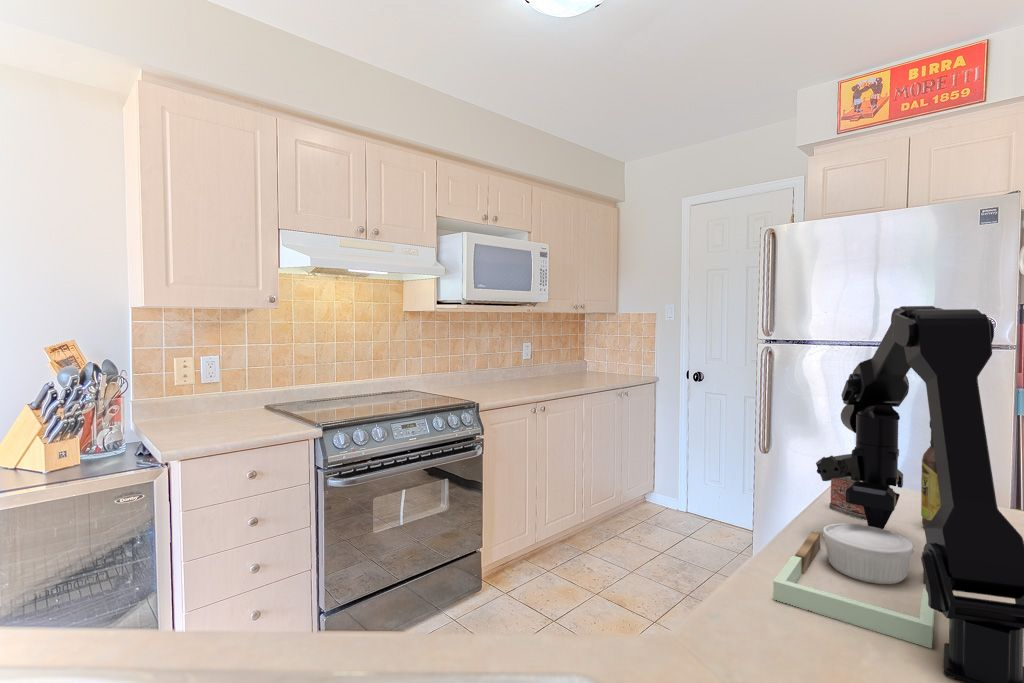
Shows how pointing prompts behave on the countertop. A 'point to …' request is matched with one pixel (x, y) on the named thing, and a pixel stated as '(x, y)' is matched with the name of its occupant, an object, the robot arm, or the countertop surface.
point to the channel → (813, 551)
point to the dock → (854, 608)
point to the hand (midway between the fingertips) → (875, 536)
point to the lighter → (844, 498)
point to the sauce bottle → (929, 485)
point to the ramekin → (868, 552)
